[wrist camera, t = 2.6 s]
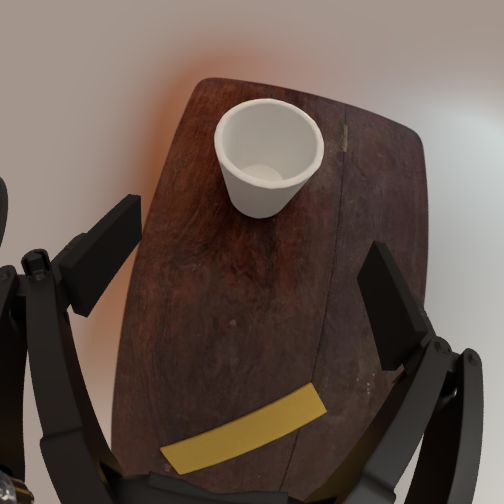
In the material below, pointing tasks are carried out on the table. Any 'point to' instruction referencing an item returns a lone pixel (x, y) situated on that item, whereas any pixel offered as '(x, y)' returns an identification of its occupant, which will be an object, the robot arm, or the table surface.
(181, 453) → the yellow plank
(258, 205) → the cup
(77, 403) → the robot arm
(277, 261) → the table surface
